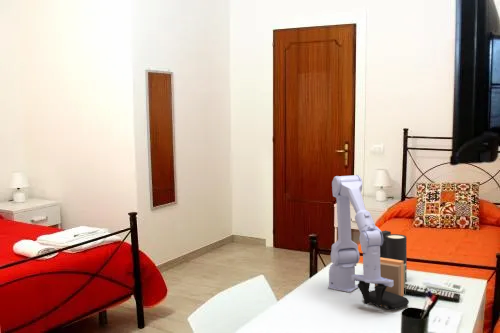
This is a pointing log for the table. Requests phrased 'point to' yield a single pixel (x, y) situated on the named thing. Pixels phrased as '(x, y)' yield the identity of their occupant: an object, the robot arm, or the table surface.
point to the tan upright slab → (393, 274)
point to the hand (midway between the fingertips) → (372, 304)
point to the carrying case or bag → (389, 300)
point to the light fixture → (394, 248)
